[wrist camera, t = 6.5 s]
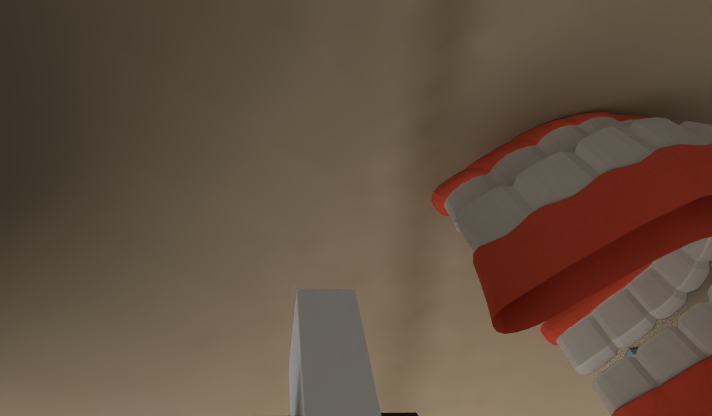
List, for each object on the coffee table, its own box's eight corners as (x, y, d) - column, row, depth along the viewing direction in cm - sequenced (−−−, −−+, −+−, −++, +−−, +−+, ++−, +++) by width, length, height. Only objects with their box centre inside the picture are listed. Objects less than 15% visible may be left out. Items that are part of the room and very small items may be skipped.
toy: (742, 227, 26) (918, 348, 19) (553, 347, 28) (648, 496, 21) (644, 9, 20) (847, 70, 13) (413, 183, 22) (481, 315, 15)
